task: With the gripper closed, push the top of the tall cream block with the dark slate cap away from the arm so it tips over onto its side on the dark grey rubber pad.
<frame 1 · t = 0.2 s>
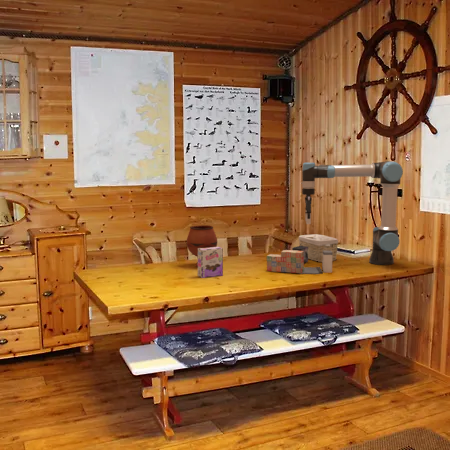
hand: (308, 222, 354), 28 cm above the table, tool pointing down, fingers open, 13 cm apart
tall block: (327, 271, 345), on the table
candy box: (210, 276, 334), on the table
stack of blocks: (285, 271, 344), on the table, touching pad
small box: (300, 263, 369), on the table
storage basket: (317, 259, 383), on the table
terracotta clay vase: (202, 266, 362), on the table
pad: (309, 271, 345), on the table
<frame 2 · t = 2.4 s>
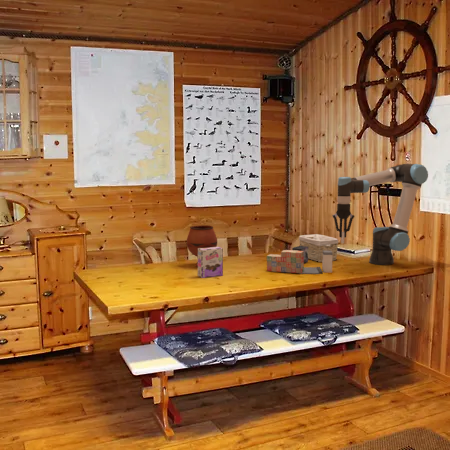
hand: (342, 242, 342), 17 cm above the table, tool pointing down, fingers closed
nothing on the table moved.
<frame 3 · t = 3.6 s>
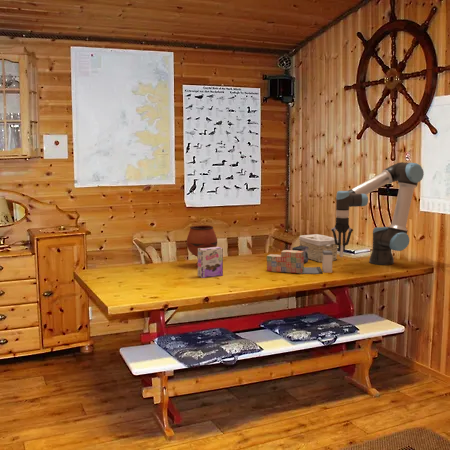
hand: (341, 256, 343), 9 cm above the table, tool pointing down, fingers closed
nothing on the table moved.
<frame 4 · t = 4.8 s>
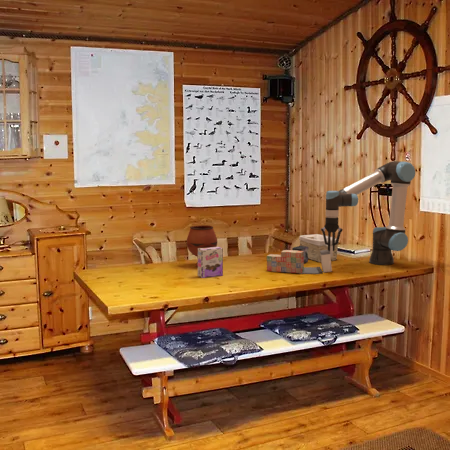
hand: (330, 256, 343), 9 cm above the table, tool pointing down, fingers closed
tall block: (327, 270, 345), on the table, tilted 7°, touching gripper
everything else where it was.
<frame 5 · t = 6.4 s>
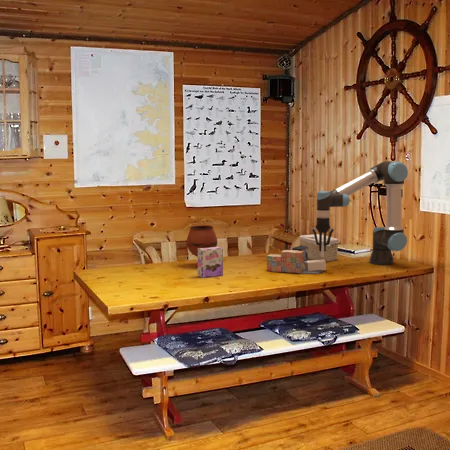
hand: (322, 256, 344), 9 cm above the table, tool pointing down, fingers closed
tall block: (325, 264, 344), point 4 cm above the table, tilted 95°, touching pad
everything else where it was.
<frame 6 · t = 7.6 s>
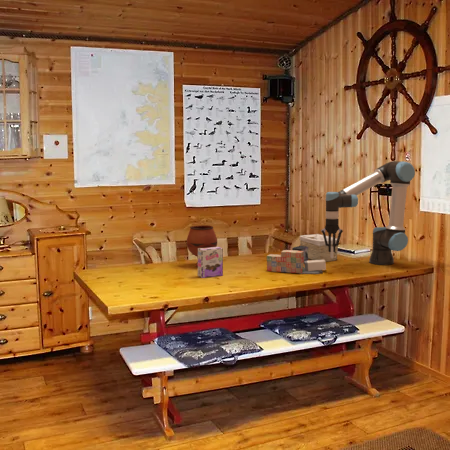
hand: (331, 257, 344), 8 cm above the table, tool pointing down, fingers closed
nothing on the table moved.
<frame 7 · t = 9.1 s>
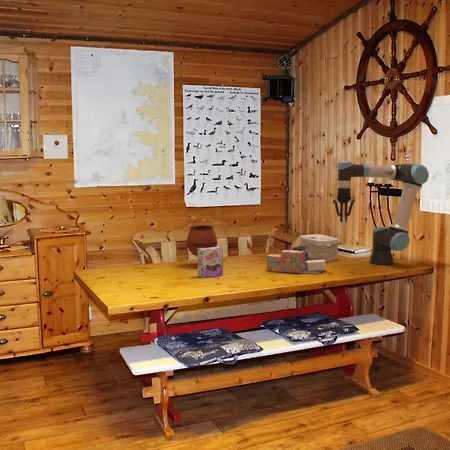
hand: (343, 227, 341), 26 cm above the table, tool pointing down, fingers closed
nothing on the table moved.
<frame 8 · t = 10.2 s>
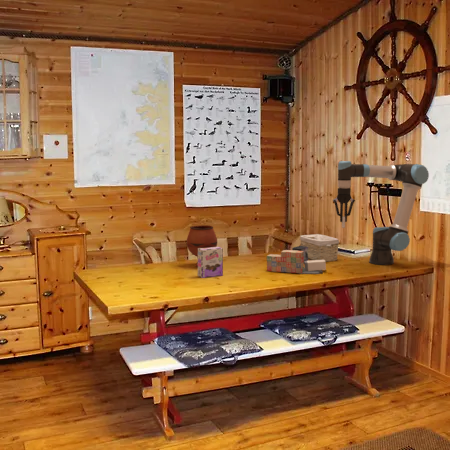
hand: (343, 227, 341), 26 cm above the table, tool pointing down, fingers closed
nothing on the table moved.
at the end: tall block tilted 95°; tall block touching pad; tall block inside the target area (3.7 cm from its centre), point 4.0 cm above the table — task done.
